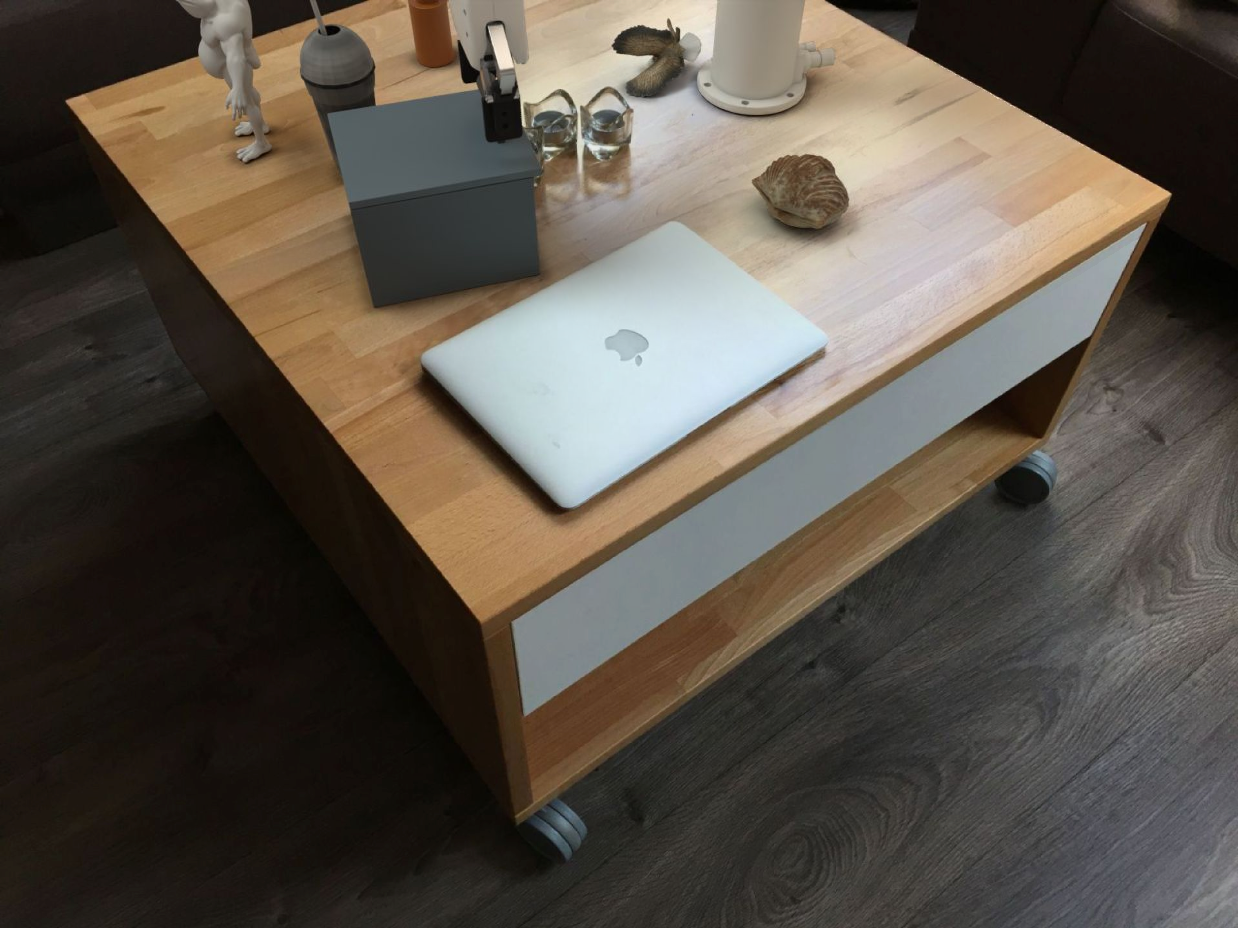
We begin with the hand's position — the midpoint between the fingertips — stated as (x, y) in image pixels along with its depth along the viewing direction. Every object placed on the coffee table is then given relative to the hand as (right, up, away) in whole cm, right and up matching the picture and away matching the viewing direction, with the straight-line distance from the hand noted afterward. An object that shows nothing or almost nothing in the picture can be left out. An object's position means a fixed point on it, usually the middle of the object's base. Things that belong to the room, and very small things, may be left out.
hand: (491, 108), depth 91 cm
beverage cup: (-16, -1, +18) cm, 24 cm away
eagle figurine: (+16, +14, +29) cm, 36 cm away
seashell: (+29, -7, +13) cm, 33 cm away
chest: (-6, -10, +10) cm, 15 cm away
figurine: (-28, +3, +21) cm, 35 cm away
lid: (-6, -3, +1) cm, 6 cm away
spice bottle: (-11, +17, +32) cm, 38 cm away
